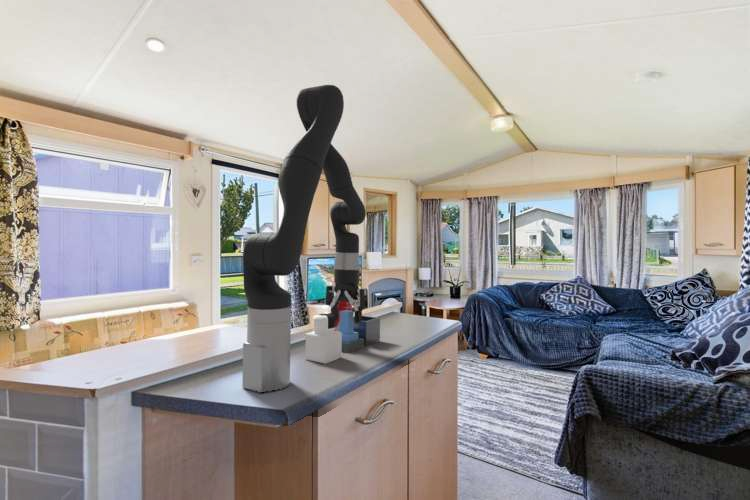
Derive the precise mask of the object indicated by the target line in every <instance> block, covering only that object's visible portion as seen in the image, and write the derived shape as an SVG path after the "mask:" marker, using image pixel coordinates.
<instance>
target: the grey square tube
mask: <svg viewBox="0 0 750 500" xmlns="http://www.w3.org/2000/svg"><path fill="white" fill-rule="evenodd" d="M353 332H358V338H363V339H364V347H368V346H370V345H373V344H376V343H379V342H380V341H381V338H380V337H381V318H380V317H376V316H368V315H362V320H361V322H360V323H358V324H355V323H354V318H353Z"/></svg>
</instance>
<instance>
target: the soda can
mask: <svg viewBox="0 0 750 500" xmlns="http://www.w3.org/2000/svg"><path fill="white" fill-rule="evenodd" d="M337 307H338V319H337V320H335V331H338V332H340V311H343V310H348V311H353V310H352V309H353V305H351V303H350V302H346V301H341V302H340V303H339V305H338V306H337Z"/></svg>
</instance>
